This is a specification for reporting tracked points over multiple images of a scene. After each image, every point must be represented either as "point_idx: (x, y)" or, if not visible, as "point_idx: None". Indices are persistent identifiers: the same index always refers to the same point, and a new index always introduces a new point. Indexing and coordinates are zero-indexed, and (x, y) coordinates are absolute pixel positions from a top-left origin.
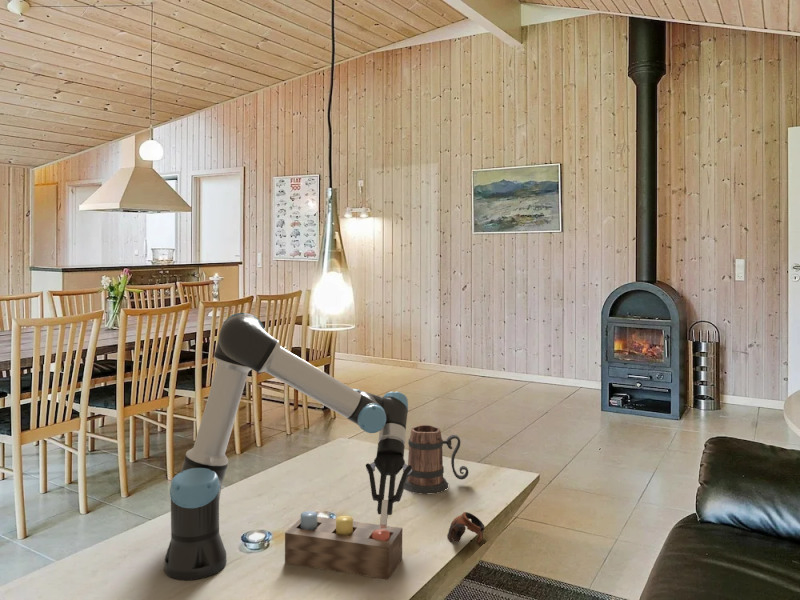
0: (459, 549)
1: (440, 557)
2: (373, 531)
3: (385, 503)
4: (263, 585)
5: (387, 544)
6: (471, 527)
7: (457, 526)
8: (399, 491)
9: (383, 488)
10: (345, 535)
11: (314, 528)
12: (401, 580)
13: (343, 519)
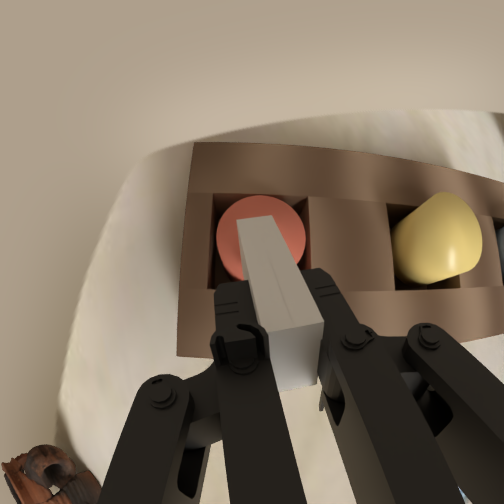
0: (55, 425)
1: (86, 372)
2: (303, 242)
3: (278, 303)
4: (448, 131)
5: (206, 165)
6: (12, 465)
7: (30, 459)
8: (138, 447)
9: (375, 438)
10: (402, 202)
11: (499, 238)
12: (170, 204)
13: (456, 226)
